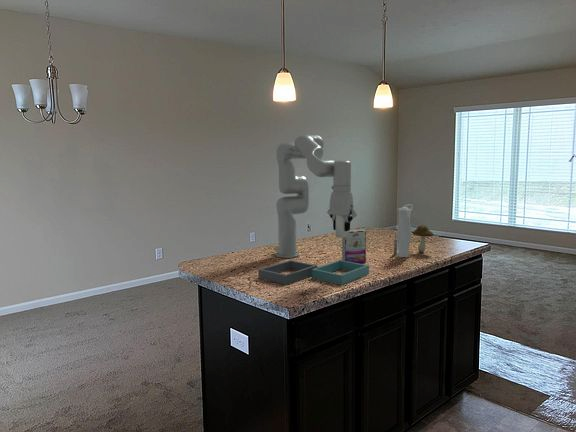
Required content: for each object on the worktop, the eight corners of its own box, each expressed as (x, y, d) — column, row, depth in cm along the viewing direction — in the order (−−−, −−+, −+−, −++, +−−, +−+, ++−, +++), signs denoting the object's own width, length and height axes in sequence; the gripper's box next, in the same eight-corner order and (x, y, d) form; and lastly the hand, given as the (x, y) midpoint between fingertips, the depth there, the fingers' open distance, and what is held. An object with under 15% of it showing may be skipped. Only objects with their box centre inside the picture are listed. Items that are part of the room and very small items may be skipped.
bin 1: (258, 278, 202) (258, 269, 202) (290, 268, 219) (290, 260, 218) (286, 285, 192) (286, 275, 191) (317, 274, 209) (317, 265, 208)
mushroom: (428, 255, 244) (429, 227, 242) (408, 252, 252) (409, 225, 250) (435, 252, 251) (437, 225, 249) (416, 249, 259) (417, 223, 256)
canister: (333, 236, 202) (333, 214, 201) (339, 235, 206) (340, 212, 205) (343, 238, 199) (343, 215, 197) (349, 236, 203) (349, 213, 201)
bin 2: (311, 278, 202) (311, 269, 201) (339, 268, 219) (339, 260, 218) (342, 284, 192) (342, 275, 191) (368, 274, 208) (369, 265, 208)
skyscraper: (408, 255, 247) (410, 203, 243) (413, 258, 239) (415, 205, 235) (393, 255, 247) (394, 203, 243) (397, 258, 239) (398, 205, 235)
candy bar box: (361, 260, 234) (362, 228, 231) (365, 262, 229) (366, 230, 227) (341, 262, 231) (341, 229, 228) (345, 264, 226) (345, 231, 224)
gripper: (321, 188, 202) (320, 229, 205) (354, 190, 191) (353, 233, 194) (330, 187, 208) (330, 227, 210) (363, 189, 197) (362, 231, 199)
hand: (341, 229), depth 202 cm, fingers closed on canister, 5 cm apart
